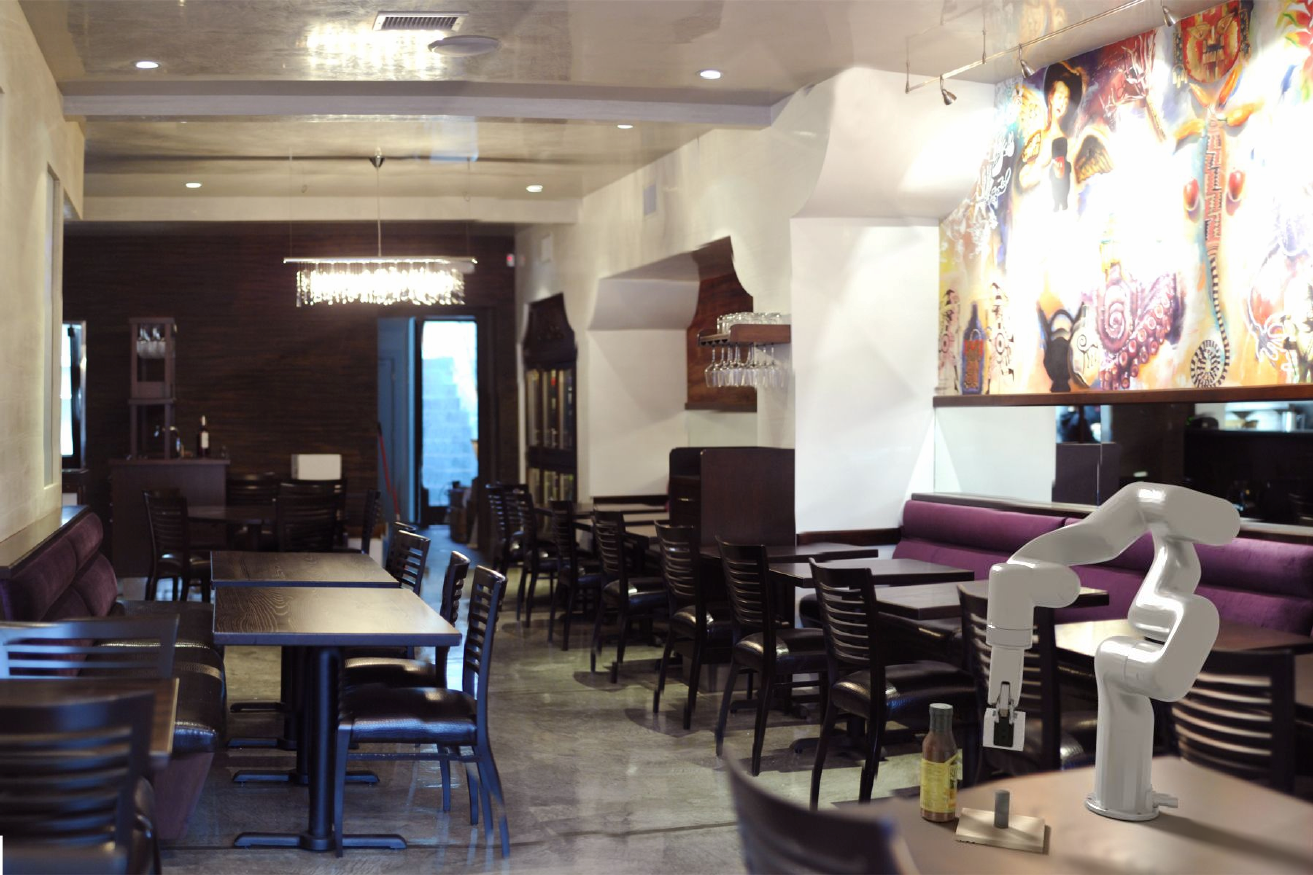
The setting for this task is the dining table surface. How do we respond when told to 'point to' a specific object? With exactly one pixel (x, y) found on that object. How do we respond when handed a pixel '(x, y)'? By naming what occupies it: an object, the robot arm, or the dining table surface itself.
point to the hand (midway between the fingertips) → (1004, 739)
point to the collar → (1018, 729)
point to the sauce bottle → (939, 767)
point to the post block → (1001, 827)
